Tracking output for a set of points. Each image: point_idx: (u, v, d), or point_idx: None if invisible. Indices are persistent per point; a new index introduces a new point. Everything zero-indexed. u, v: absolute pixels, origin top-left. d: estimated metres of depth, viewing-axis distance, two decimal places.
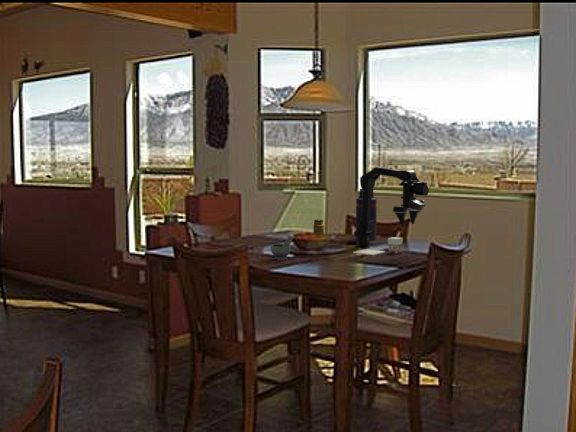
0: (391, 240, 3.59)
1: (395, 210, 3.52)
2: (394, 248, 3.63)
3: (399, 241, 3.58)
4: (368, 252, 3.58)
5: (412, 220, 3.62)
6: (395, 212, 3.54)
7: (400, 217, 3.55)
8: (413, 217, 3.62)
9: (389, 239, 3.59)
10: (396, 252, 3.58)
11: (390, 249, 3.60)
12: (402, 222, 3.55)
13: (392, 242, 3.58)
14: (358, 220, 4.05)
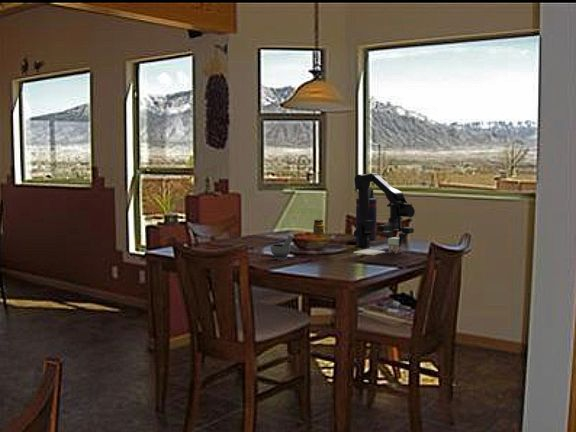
0: (391, 240, 3.59)
1: None
2: (394, 248, 3.63)
3: None
4: (368, 252, 3.58)
5: None
6: None
7: None
8: None
9: (389, 239, 3.59)
10: (396, 252, 3.58)
11: (390, 249, 3.60)
12: None
13: (392, 242, 3.58)
14: (358, 220, 4.05)
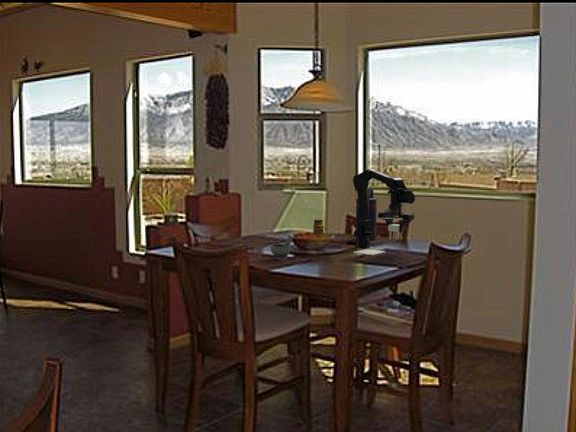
0: (391, 227, 3.58)
1: None
2: (394, 235, 3.62)
3: (399, 228, 3.57)
4: (368, 252, 3.58)
5: None
6: None
7: None
8: None
9: (389, 226, 3.58)
10: (396, 239, 3.57)
11: (390, 236, 3.59)
12: None
13: (392, 229, 3.57)
14: (358, 220, 4.05)
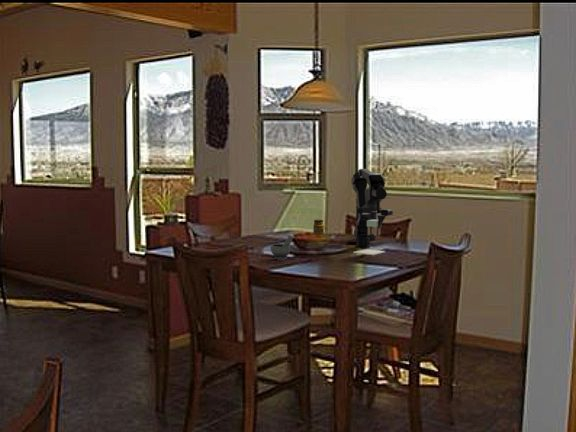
0: (370, 222, 3.57)
1: None
2: (373, 230, 3.61)
3: None
4: (368, 252, 3.58)
5: None
6: None
7: None
8: None
9: (368, 221, 3.58)
10: (375, 234, 3.56)
11: (369, 231, 3.58)
12: None
13: (371, 224, 3.57)
14: None
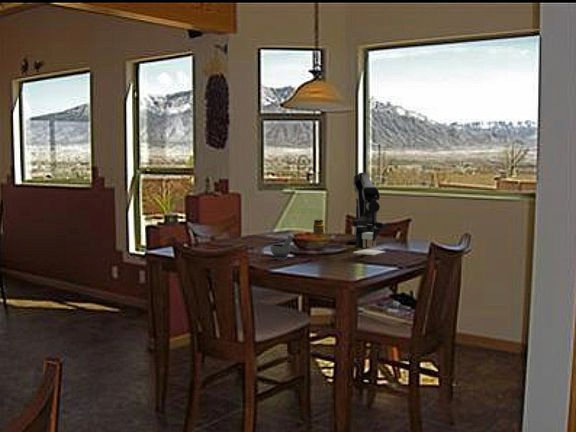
0: (365, 235, 3.58)
1: None
2: (368, 243, 3.62)
3: None
4: (368, 252, 3.58)
5: None
6: None
7: None
8: None
9: (363, 234, 3.59)
10: (370, 247, 3.57)
11: (364, 244, 3.59)
12: None
13: (366, 237, 3.58)
14: None
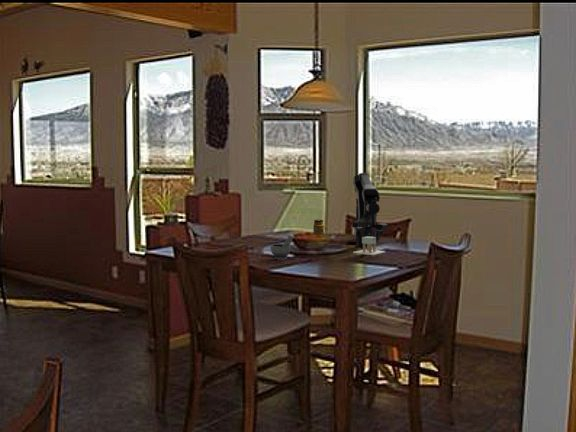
0: (365, 239, 3.58)
1: None
2: (368, 247, 3.62)
3: (373, 240, 3.58)
4: (368, 252, 3.58)
5: None
6: None
7: None
8: None
9: (363, 238, 3.59)
10: (370, 251, 3.57)
11: (364, 248, 3.59)
12: None
13: (366, 241, 3.58)
14: None
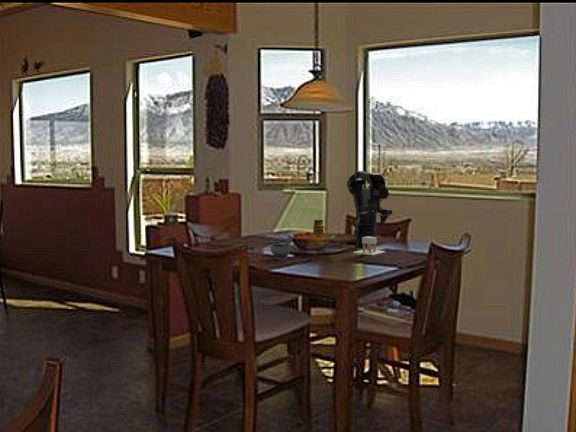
0: (365, 239, 3.58)
1: None
2: (368, 247, 3.62)
3: (373, 240, 3.58)
4: (368, 252, 3.58)
5: None
6: None
7: None
8: None
9: (363, 238, 3.59)
10: (370, 251, 3.57)
11: (364, 248, 3.59)
12: None
13: (366, 241, 3.58)
14: None
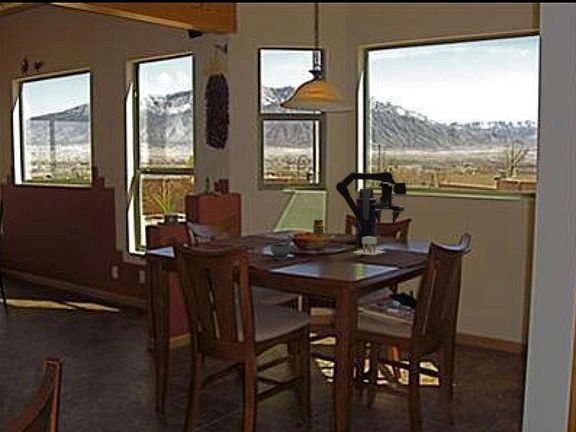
0: (365, 239, 3.58)
1: None
2: (368, 247, 3.62)
3: (373, 240, 3.58)
4: (368, 252, 3.58)
5: None
6: None
7: None
8: None
9: (363, 238, 3.59)
10: (370, 251, 3.57)
11: (364, 248, 3.59)
12: None
13: (366, 241, 3.58)
14: None
